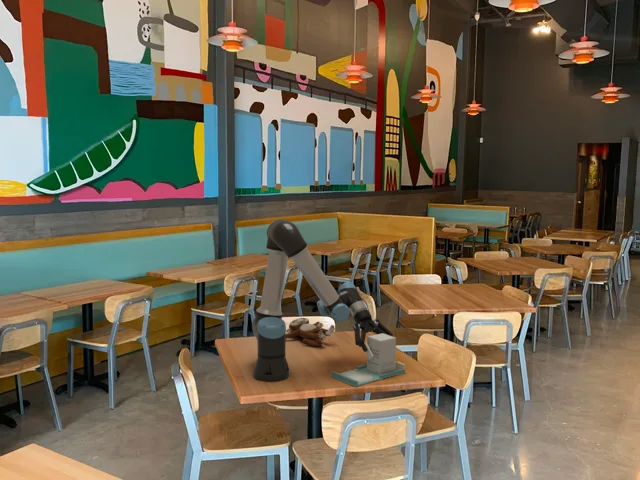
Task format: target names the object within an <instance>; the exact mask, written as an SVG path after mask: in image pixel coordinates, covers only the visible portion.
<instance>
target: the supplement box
mask: <svg viewBox="0 0 640 480" xmlns="http://www.w3.org/2000/svg"><path fill="white" fill-rule="evenodd" d="M366 338H367V341H366V343H367V345H368V346H369V348H370V350H371V352H372V354H373V357H372V358H371V359H369V358H368V357H367V356H366V364H367V370H368V371H371V372H373V373H376V374H378V375H382V374H385V373H389V372H393V371H396V360H397V359H396V358H397V357H396V356H397V355H396V354H397V351H396V350H397V348H396V347H397V346H396V345H397V337H395V336H389V335H386V334H383V333H382V334H373V335H368V336H366Z"/></svg>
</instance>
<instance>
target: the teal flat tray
mask: <svg viewBox="0 0 640 480" xmlns="http://www.w3.org/2000/svg"><path fill="white" fill-rule="evenodd" d="M406 365H407V364H405V363H403V362H401V361H396V371H393V372H389V373H385V374H382V375H378V374H376V373H373V372H371V371H368V370H367V363H366V364H362V365H357V366H356V368H354V369H350V370H347V371H346V370H345V371H343V372H337V371H335V370H332V371H331V375H330V376H331V378H334V379H336V380H339V381H341V382H343V383H345V384H347V385H350V386H352V387H354V388H358V387H361V386H363V384H364V385H367V384H366V383H368V384H371V383H374V382H373V381H375V382H377V381H376V380H379V379H382V380H384V379H383V378H386V379H388V378H387V377H389V378H392V377H391V376H393V377H395V376H394V375H396V376H399V375H398V374H400V375H402V373H403V374H405V373H406V368H407V367H406ZM379 381H380V380H379ZM370 382H371V383H370ZM360 385H361V386H360Z"/></svg>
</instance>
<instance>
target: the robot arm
mask: <svg viewBox="0 0 640 480" xmlns="http://www.w3.org/2000/svg"><path fill="white" fill-rule="evenodd" d="M266 238H267V240H266V246H265V250H267V252H268V256H267V262H266V263H267V264H266V268H265V274H264V280H263V281H264V282H263V287H262V293H261V299H260V300H261V301H260V306H259V307H258V308H256V311H255V316H254V319H253V321H252V323H251V329H252V333H253V335H254V336H255V338H256V340H257V358H256V361H255V364H254V367H253V370H252V371H253V372H252V375H253V378H254V379H256V380H259V381H264V382H277V381H283V380H286V379H288V378H289V377H290V374H291V373H290V372H291V370H290V367H289V363H288V359H287V358H286V348H287V347H286V340H287V338H286V334H287V332H286V330H287V326H286V322H285V320H283V312H282V311H281V309H280V308H281V303H282V298H283V290H284V286H285V285H284V284H285V279H286V272H287V265H288V261H289V259H292V261H293V262H294V264H295V265H296V267H297V268H298V270H299V271H300V273H301V274H302V275H303V277H304V278H305V280H306V282H307V283H308V284H309V286H310V287H311V288H312V290H313V292H314V293H315V294H316V296H317V297H318V298H319V300H318V301H317V302H316V306H317V309H318V312H319V313H320V315H321V316H322V317H326V316H327V317H328V316H331V318H332V319H333V320H334V321H337V322H344V321H346V320H347V319H348V318H349V317H350V314H351V316H352V317H353V320H354V322H355V323H354V325H352V328H353V331H354V342H355V344H354V345H356V346H358V347H359V348H361V349H362V350H363V353H365V355H366V358H367V357H368V358H369V359H371V358H372V357H373V354H372V352H371V350H370V348H369V346H368V345H367V342H366V338H367V336H366V335H367V333H375V335H377V334H382V333H383V334H386V335H389V336H392V337H394V336H393V335H394V334H393V332H391V331H390V330H389V329H388V328H387V327H386V326H385V325H384V324H383V323H382V322H381V321H380V319H378V318H377V319H376V320H373V319H372V314H371V312H370V310H368V306H367V305H366V303H365V301H364V300H363V298H362V296H361V294H360V293H359V291H358V288H356V285H354V283H353V282H351V281H347V282H344V283H342V284H340V286H339V287H338V288H337V289H338V291H337V290H336V289H335V287H334V286H333V285H332V283H331V282H330V280H329V279H328V277H327V276H326V275H325V273H324V272H323V270H322V268H321V266H320V265H319V264H318V262H317V261H316V260H315V258H314V257H313V255H312V253H311V252H310V251H309V249H308V247H309V245H308V243H307V242H306V240H305V239H304V237H303V234H302V233H301V232H300V229H299V227H298V226H297V225H296V224H295V223H293V222H291V221H289V220H287V219H283V218H282V219H281V218H279V219H276V220H273V221H272V222H271V223H270V224H269V225H268V227H267V229H266ZM396 352H397V349H396Z"/></svg>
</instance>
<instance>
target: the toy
mask: <svg viewBox="0 0 640 480" xmlns="http://www.w3.org/2000/svg"><path fill="white" fill-rule="evenodd" d="M323 327H324V323H322V322H320V321H316V322H315V323H310V320H309V318H307V317H299V318H296V319H292V321H290V323H289V325H288V328H286V339H289V338H294V337H297V338H302V343H303V344H308V345H311V346H313V347H315V348H318V347H319V348H320V347H321V346H322V345H323V340H325V339H326V338H327V337H331V335H332V334H333V333H335V330H336V328H335V325H334V324H331V325H330V327H329V328H328V329H327V328H323Z"/></svg>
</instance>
